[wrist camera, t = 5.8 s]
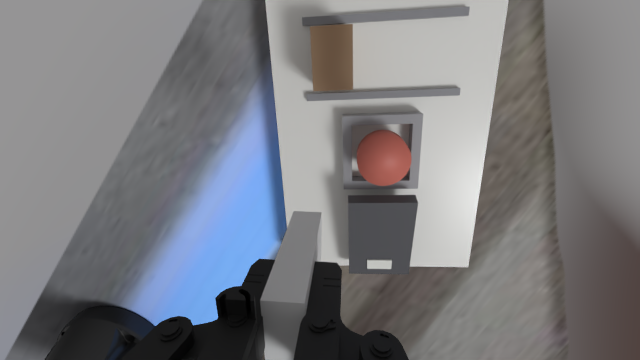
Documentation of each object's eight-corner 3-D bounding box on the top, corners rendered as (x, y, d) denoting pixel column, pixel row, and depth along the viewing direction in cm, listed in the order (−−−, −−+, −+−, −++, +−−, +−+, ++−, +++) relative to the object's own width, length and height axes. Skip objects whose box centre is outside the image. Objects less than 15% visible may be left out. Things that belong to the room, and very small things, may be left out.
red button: (356, 178, 28) (357, 186, 26) (356, 130, 26) (357, 135, 24) (405, 177, 27) (409, 185, 26) (408, 128, 26) (413, 133, 24)
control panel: (294, 249, 37) (288, 272, 33) (273, 3, 27) (260, -7, 23) (458, 250, 35) (473, 275, 31) (493, -12, 26) (521, -26, 22)
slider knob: (318, 87, 27) (313, 91, 23) (315, 32, 25) (309, 26, 21) (352, 86, 26) (353, 89, 23) (351, 29, 25) (352, 23, 21)
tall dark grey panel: (349, 264, 32) (349, 274, 31) (348, 195, 28) (348, 204, 27) (406, 265, 32) (408, 275, 31) (415, 194, 27) (418, 203, 26)
